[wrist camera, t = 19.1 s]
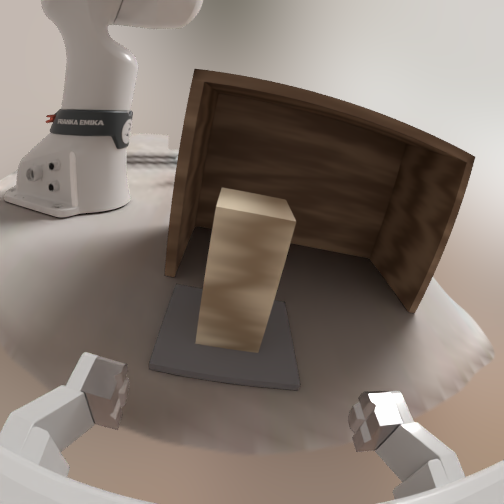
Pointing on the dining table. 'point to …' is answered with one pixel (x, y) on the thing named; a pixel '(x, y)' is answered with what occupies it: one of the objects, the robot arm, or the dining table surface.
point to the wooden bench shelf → (320, 175)
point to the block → (243, 269)
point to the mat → (221, 359)
